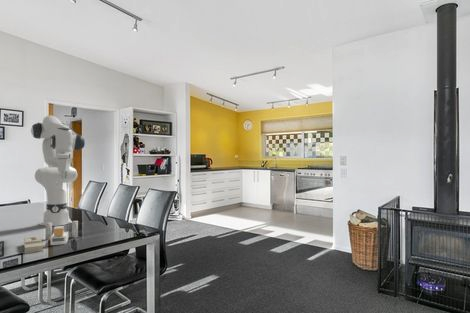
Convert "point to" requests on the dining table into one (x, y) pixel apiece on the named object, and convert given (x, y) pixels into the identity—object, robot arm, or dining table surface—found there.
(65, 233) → the breaker block
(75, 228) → the post
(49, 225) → the post
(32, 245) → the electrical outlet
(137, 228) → the dining table surface
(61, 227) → the breaker toggle
